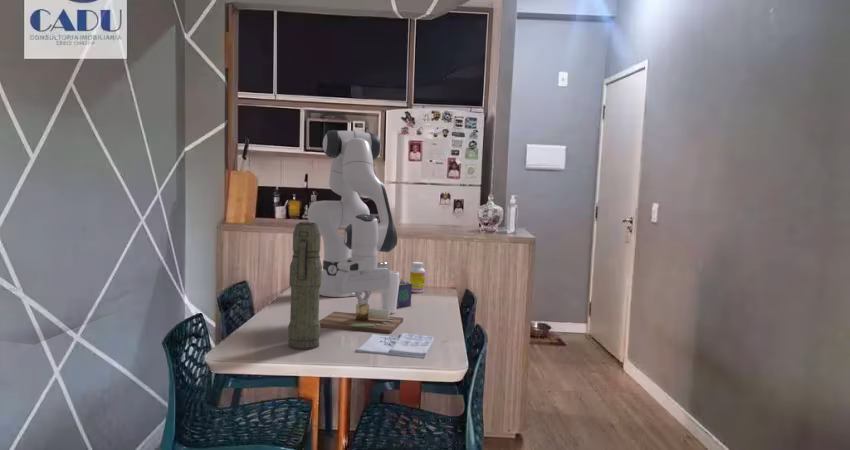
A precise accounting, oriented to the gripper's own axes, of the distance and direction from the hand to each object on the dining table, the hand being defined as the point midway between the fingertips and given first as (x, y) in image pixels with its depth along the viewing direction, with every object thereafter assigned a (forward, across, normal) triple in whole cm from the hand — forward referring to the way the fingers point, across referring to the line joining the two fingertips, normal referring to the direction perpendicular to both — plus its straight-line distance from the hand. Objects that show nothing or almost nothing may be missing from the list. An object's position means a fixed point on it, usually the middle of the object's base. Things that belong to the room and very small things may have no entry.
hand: (362, 304), depth 189 cm
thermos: (+6, +29, +14) cm, 33 cm away
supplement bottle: (+6, -51, -36) cm, 63 cm away
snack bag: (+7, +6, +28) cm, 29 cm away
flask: (+6, -26, -14) cm, 30 cm away
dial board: (+6, +1, +1) cm, 6 cm away
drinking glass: (+6, -17, -8) cm, 20 cm away
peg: (+5, -2, +3) cm, 6 cm away
